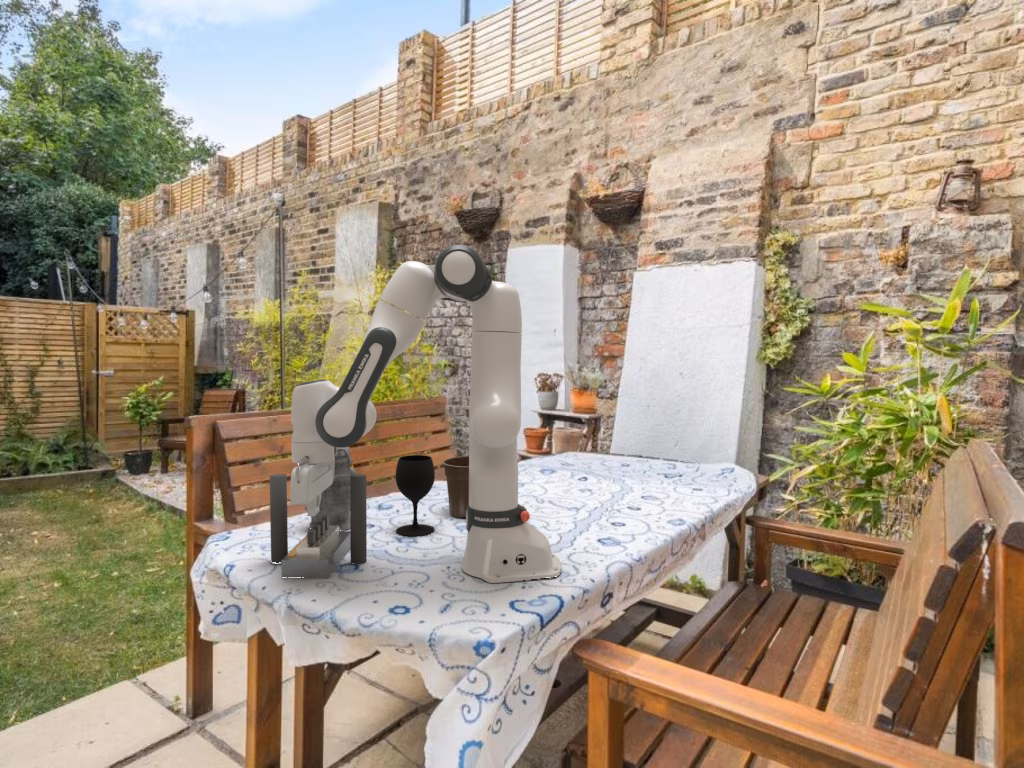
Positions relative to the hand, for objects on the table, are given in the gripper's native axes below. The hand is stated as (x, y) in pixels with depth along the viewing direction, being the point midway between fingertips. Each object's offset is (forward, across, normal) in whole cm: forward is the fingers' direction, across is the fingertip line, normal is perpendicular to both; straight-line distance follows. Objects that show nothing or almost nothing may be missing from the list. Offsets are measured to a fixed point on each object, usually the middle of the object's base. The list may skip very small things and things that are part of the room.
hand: (313, 514), depth 129 cm
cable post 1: (+12, +4, +9) cm, 16 cm away
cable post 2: (+12, +4, -9) cm, 16 cm away
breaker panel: (+12, +4, 0) cm, 13 cm away
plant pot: (+12, +44, -33) cm, 56 cm away
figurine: (+12, +30, +4) cm, 33 cm away
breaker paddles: (+6, +4, 0) cm, 7 cm away
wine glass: (+12, +27, -19) cm, 35 cm away
